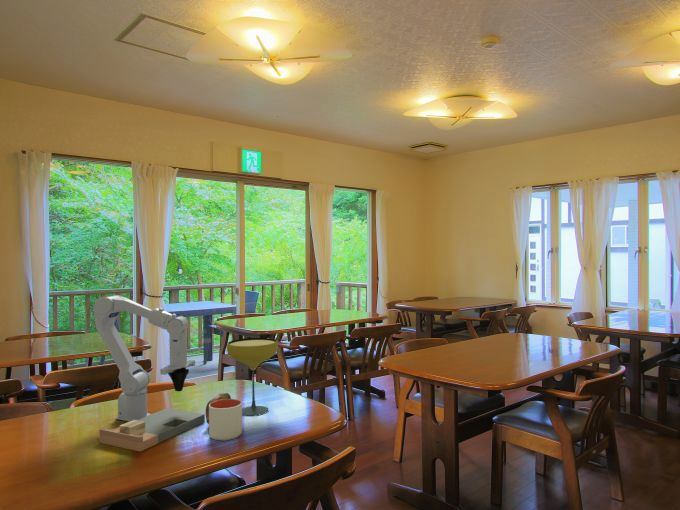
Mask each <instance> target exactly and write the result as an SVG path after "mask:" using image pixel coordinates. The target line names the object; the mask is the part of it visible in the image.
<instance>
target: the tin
mask: <svg viewBox="0 0 680 510" xmlns="http://www.w3.org/2000/svg"><path fill="white" fill-rule="evenodd" d="M223 399H232V397H231V395H230V393H228V392H225V393H218V395H216V396H214V397H212V399H210V400H209V401H208V402H207V403H206V407H205V422H206V423H207V424H208V425H209V404H210V403H212V402H214V401H217V400H223Z"/></svg>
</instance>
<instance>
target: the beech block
mask: <svg viewBox="0 0 680 510" xmlns="http://www.w3.org/2000/svg"><path fill="white" fill-rule="evenodd" d="M119 427H120V432H123V433H128V434H133V435H138V434H141V433H143V432H145V422H144V421H139V420H133V421H130V422H129V421H127V422H126V423H122V424H120V425H119Z"/></svg>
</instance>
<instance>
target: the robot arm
mask: <svg viewBox="0 0 680 510" xmlns="http://www.w3.org/2000/svg"><path fill="white" fill-rule="evenodd" d="M164 309H165V308H162V307H159V308H158V307H157V308H153V309H151V308H148V307H147V306H144V305H143V304H140V303H138V302H135V301H134V300H132V299H129V298H128V297H126V296H121V295H119V294H114V295H109V296H100V297H99V298H97V299H96V301H95V303H94V305H93V307H92V311H93V313H94V325H95V328H96V330H97V332H98V334H99V335H100V337H101V340H102V341H103V343H104V344H105V346H106V348H107V350H108V352H109V354H110V355H111V358H112V359H113V361H114V362H115V363H114V364H115V365H116V367H117V368H118V370H119V372H118V373H119V375H118V379H119V383H120V389H121V391H122V392H121V393H120V394H119V396H118V398H117V416H116V417H115V420H120V421H124V422H130V421H133V420H138V419H140V418H143V417H146V416H148V415H151V414H152V413H149V412H148V389H147V388H148V387H147V386H148V385H149V384H150V381H151V378H150V374H149V373H148V372H147V371H146V370H144V368H143V367H142V366H141V365H140V364H138V363H137V362H135V359H134V358H133V356H132V354H131V352H130V351H129V349H128V347H127V345H126V343H125V342H124V340H123V337H122V336H121V335H120V332H119V331H118V329H117V327H116V325H115V322H116V320H117V317H119V315H120V314H121V313H122V312H128V313H130V314H133V315H137V316H139V317H142V318H145V319H147V321H148V323H149V324H150V325H153V326H156V327H157V328H160V329H163V330H165V331H167V333H168V334H169V335H168V336H169V337H168V338H169V340H168V341H169V344H168V345H169V365H166V366H164V367H161V368H160V371H159V372H160V375H167V374H168V376H169V377H170V379H171V381H172V384H173V387H174V392H182V391H183V388H184V385H185V381H186V378H187V376H188V374H189V372H190V370H189V368H190V367H195V366H196V360H193V359H190V360H189V359H188V347H187V346H188V345H187V343H188V341H187V339H188V338H187V330H188V329H189V326H190V322H189V320H188V318H186V317H185V316H183V315H179V316H178V315H177V314H176V313H170V312H168V311H165V310H164Z"/></svg>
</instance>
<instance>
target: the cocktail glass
mask: <svg viewBox="0 0 680 510" xmlns="http://www.w3.org/2000/svg"><path fill="white" fill-rule="evenodd" d="M226 351H227V355H229V356H230V358H232V359H233V360H236V361H237V362H240V363H243V364H245V365H246V366H247V367H248V368H249V369H250V371H252V373H251V374H252V375H251V376H252V377H251V379H252V381H251V382H252V383H251V384H252V387H251V388H252V389H251V390H252V396H251V397H252V398H251V399H252V400H251V405H250V406H244V407H242V416H244V415H247V416H246V417H255V416H254V415H257V416H260V415H259V414H262V413H265V412H267V411H268V409H269V407H268V406H264V405H257V404H256V399H255V398H256V397H255V371H256V369H257V368H258V367H259V366H260V364H262V363H264V362H266V361H267V360H268V359H270V358H272V357H274V356H275V354H276V353H277V352H278V351H279V344H278V339H276V338H271V337H248V338H247V337H246V338H240V339H233V340H230V341H228V343H227V345H226ZM268 412H269V411H268ZM268 412H267V413H268ZM265 414H266V413H265ZM262 415H263V414H262Z"/></svg>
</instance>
